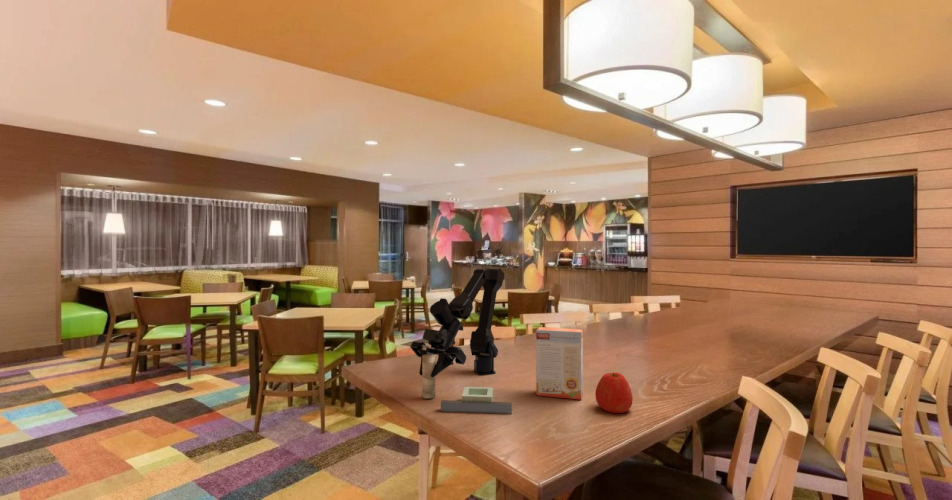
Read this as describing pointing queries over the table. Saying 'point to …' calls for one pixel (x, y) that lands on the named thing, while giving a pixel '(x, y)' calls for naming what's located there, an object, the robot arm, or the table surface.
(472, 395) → the socket block
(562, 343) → the cracker box
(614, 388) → the apple
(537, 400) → the table surface
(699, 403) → the table surface
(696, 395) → the table surface
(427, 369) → the birch dowel
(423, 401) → the table surface
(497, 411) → the rail
